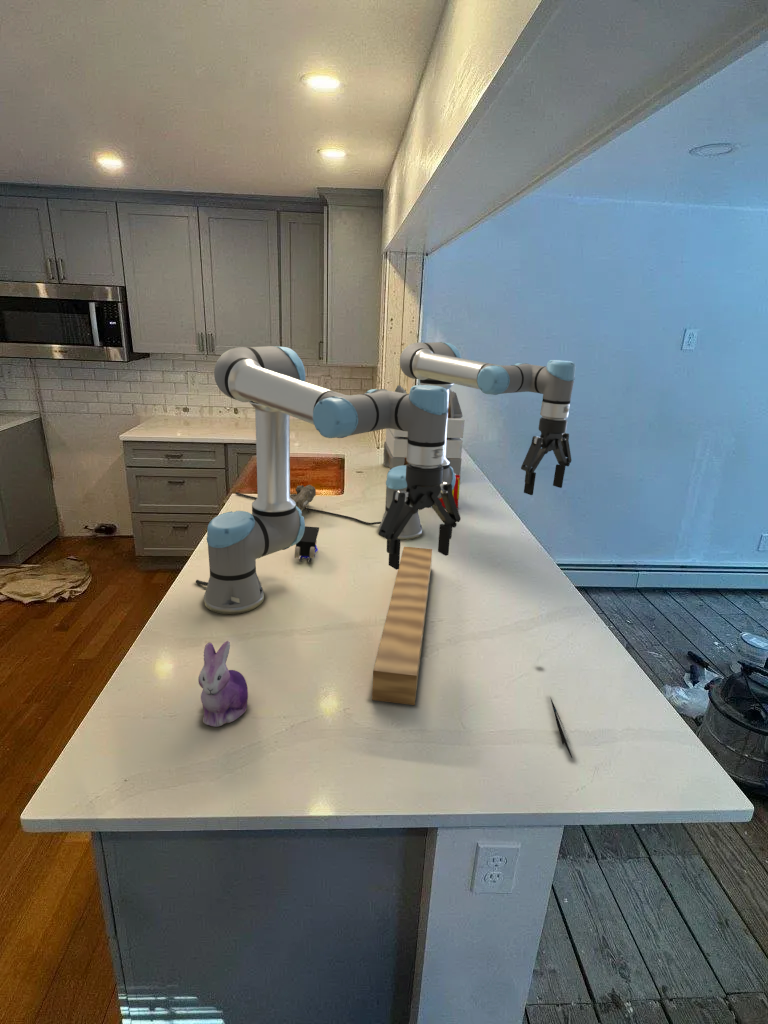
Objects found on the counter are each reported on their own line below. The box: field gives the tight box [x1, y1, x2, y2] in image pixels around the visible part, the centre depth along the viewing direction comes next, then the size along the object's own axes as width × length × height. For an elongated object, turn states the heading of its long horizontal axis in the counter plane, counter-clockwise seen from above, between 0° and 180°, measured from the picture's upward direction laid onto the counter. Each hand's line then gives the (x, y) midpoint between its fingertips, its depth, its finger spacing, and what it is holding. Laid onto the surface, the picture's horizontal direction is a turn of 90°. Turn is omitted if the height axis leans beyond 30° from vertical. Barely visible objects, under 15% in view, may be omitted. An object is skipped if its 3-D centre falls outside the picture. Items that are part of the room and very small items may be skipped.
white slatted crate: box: [383, 384, 465, 476], centre depth 268 cm, size 34×33×41 cm
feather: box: [539, 666, 573, 758], centre depth 114 cm, size 2×28×2 cm
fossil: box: [290, 484, 317, 513], centre depth 215 cm, size 22×10×15 cm
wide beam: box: [371, 546, 433, 706], centre depth 143 cm, size 64×9×7 cm, turn 173°
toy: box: [439, 472, 461, 509], centre depth 239 cm, size 12×13×30 cm
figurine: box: [198, 640, 249, 728], centre depth 107 cm, size 9×10×15 cm
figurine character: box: [294, 525, 320, 563], centre depth 178 cm, size 7×8×15 cm
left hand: (419, 560), depth 122 cm, fingers open, 13 cm apart
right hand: (543, 490), depth 166 cm, fingers open, 13 cm apart
